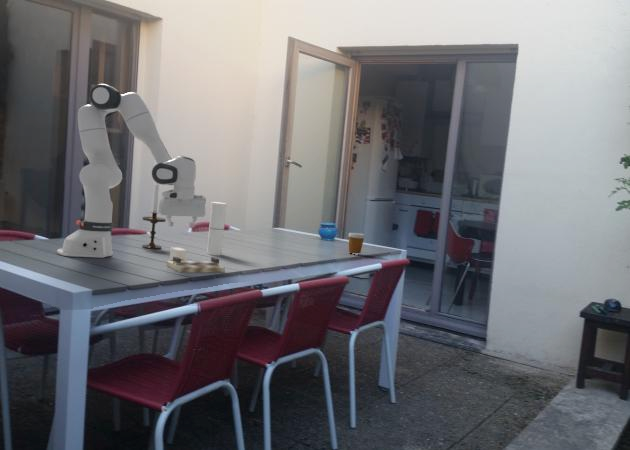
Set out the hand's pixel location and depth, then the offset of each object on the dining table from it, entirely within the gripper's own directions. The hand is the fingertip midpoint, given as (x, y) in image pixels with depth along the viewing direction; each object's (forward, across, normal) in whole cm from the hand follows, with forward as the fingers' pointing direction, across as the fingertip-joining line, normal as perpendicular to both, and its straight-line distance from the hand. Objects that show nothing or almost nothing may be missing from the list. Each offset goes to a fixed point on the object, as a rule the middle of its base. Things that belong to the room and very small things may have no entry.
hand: (181, 226), depth 282 cm
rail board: (+16, -2, +15) cm, 22 cm away
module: (+16, 0, 0) cm, 16 cm away
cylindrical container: (+16, -28, -23) cm, 40 cm away
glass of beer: (+17, -118, -29) cm, 122 cm away
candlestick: (+16, -2, -38) cm, 41 cm away
